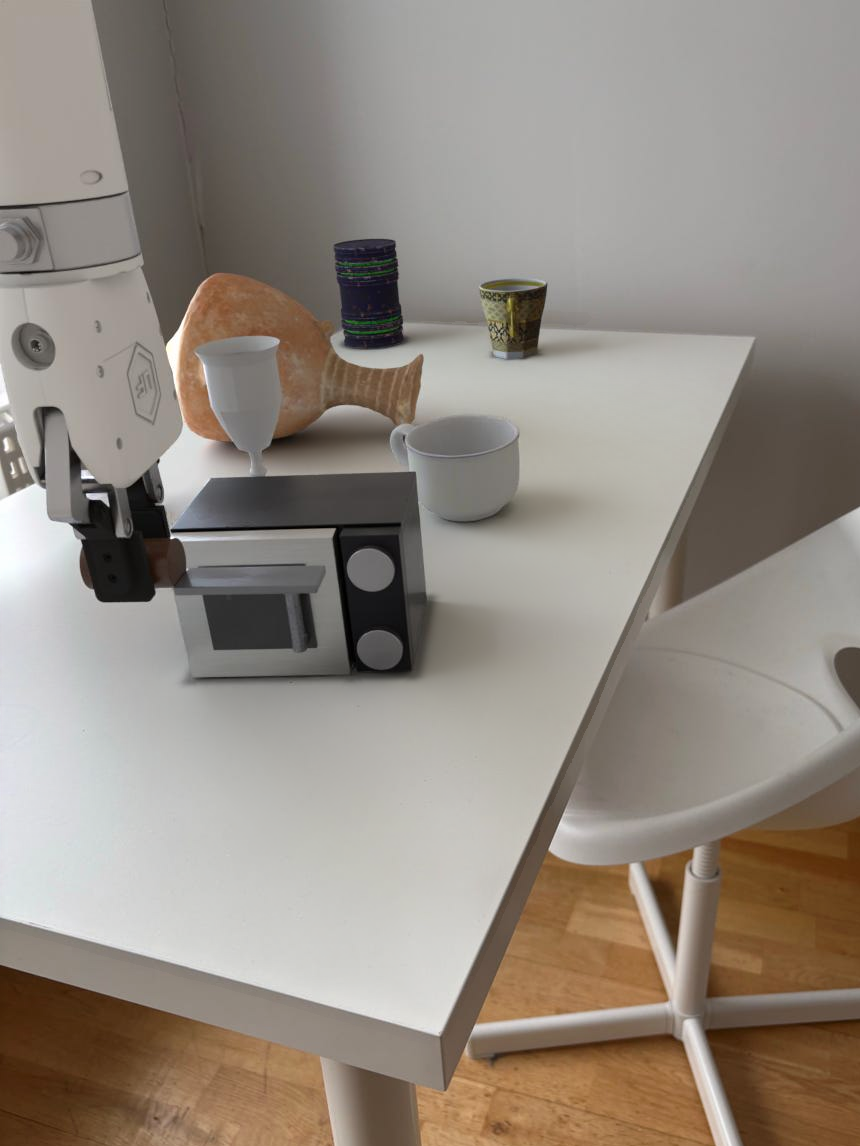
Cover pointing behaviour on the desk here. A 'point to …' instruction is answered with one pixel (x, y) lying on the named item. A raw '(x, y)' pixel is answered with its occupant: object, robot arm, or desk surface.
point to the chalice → (244, 391)
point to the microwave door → (266, 608)
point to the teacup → (461, 463)
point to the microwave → (341, 546)
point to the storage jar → (369, 293)
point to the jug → (281, 359)
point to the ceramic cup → (514, 315)
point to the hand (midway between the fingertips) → (138, 582)
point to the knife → (218, 574)
